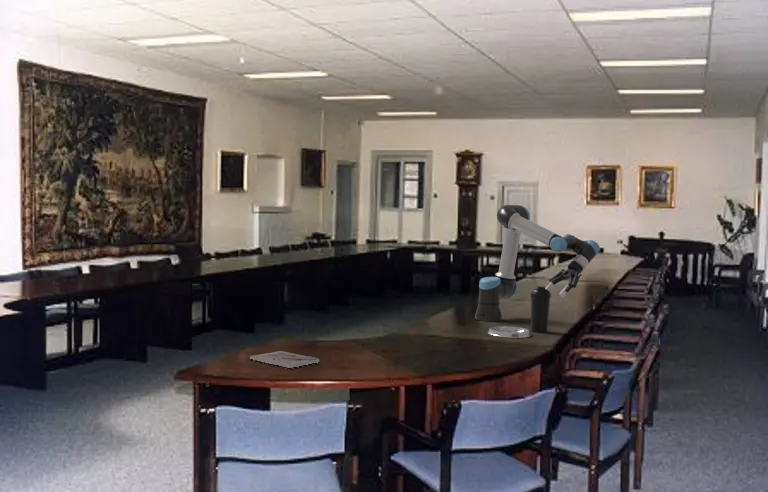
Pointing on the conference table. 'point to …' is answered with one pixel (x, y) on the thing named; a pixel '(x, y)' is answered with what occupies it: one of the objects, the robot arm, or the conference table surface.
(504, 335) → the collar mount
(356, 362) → the conference table surface
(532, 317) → the water bottle
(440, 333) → the conference table surface
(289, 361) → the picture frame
